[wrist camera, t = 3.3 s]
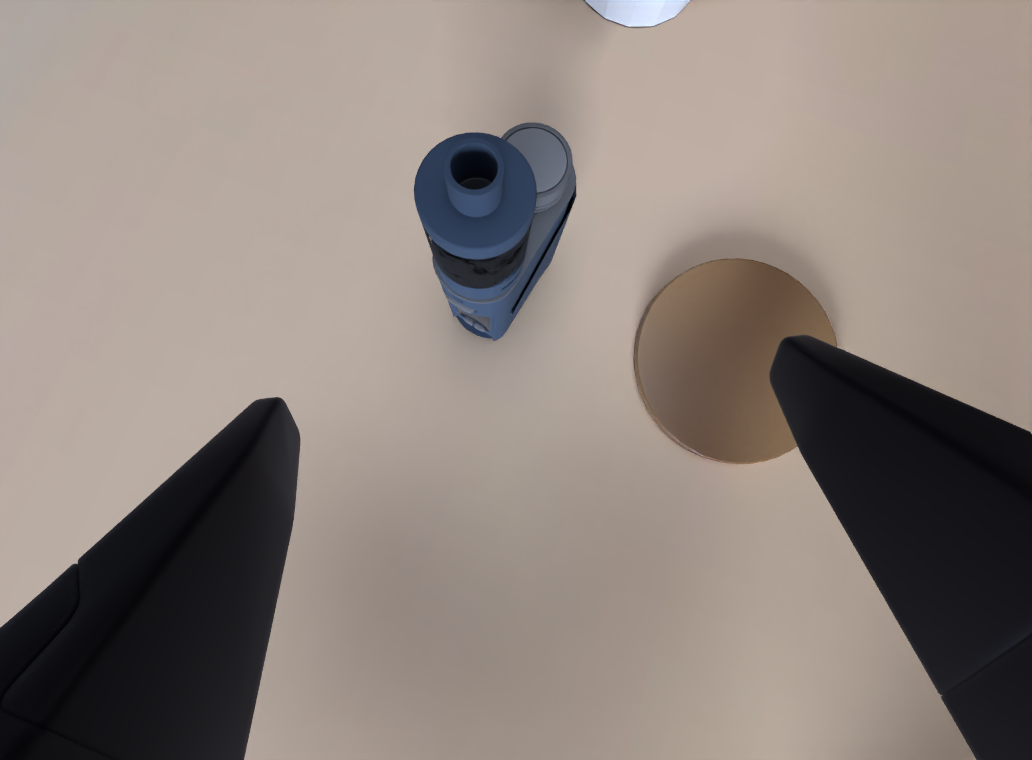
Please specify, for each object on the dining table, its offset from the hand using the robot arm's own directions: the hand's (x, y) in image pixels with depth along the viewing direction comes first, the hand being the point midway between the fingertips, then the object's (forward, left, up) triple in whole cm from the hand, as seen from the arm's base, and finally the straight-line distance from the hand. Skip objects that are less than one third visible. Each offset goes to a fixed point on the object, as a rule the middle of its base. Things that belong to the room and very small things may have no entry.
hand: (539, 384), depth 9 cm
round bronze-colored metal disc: (-9, -3, -11) cm, 15 cm away
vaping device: (+1, -5, -11) cm, 13 cm away
